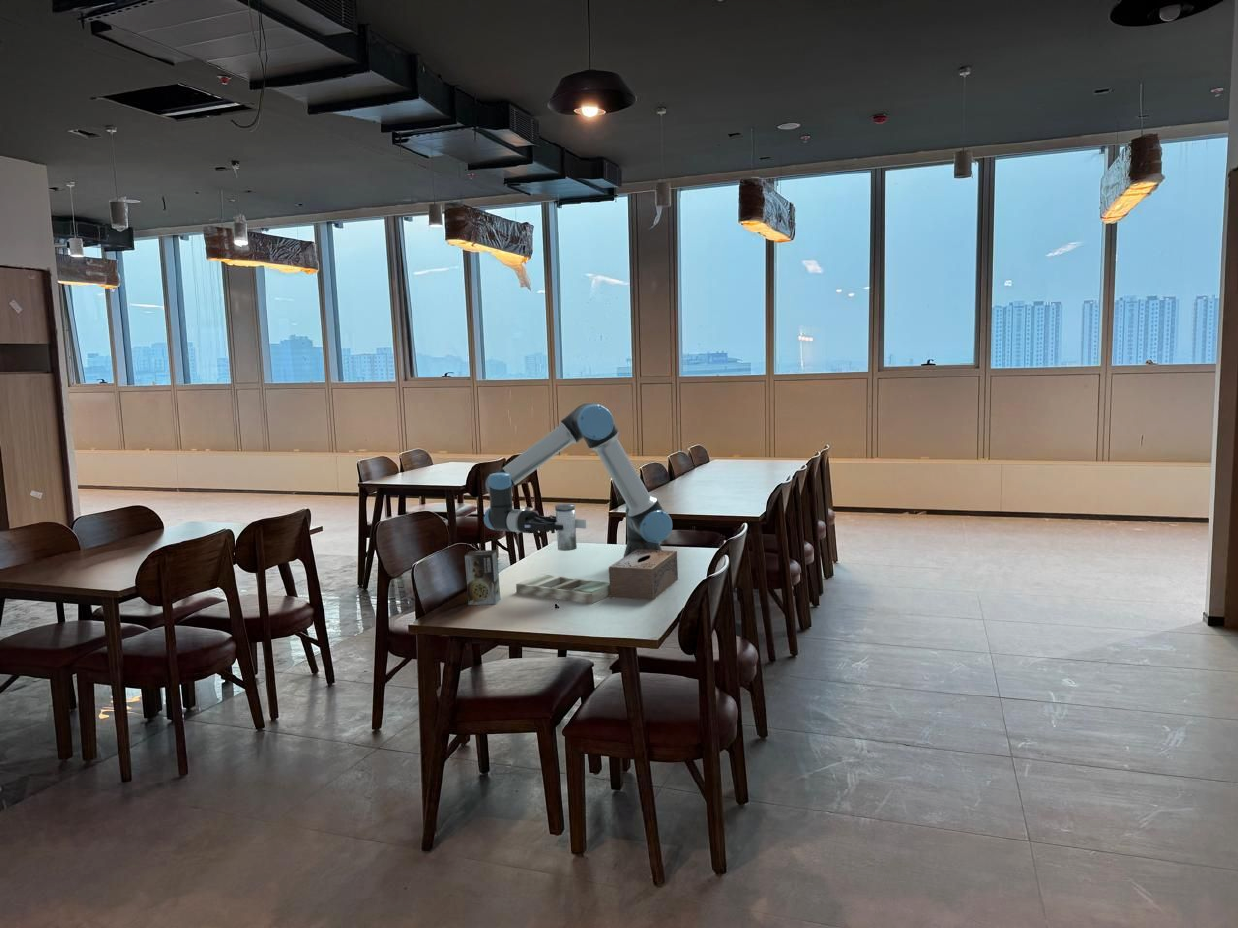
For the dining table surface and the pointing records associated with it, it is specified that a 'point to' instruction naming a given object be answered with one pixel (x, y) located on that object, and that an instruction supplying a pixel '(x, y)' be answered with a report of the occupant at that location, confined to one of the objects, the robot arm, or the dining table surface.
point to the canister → (566, 515)
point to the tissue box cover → (643, 574)
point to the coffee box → (482, 577)
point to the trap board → (565, 588)
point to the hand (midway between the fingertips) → (578, 526)
